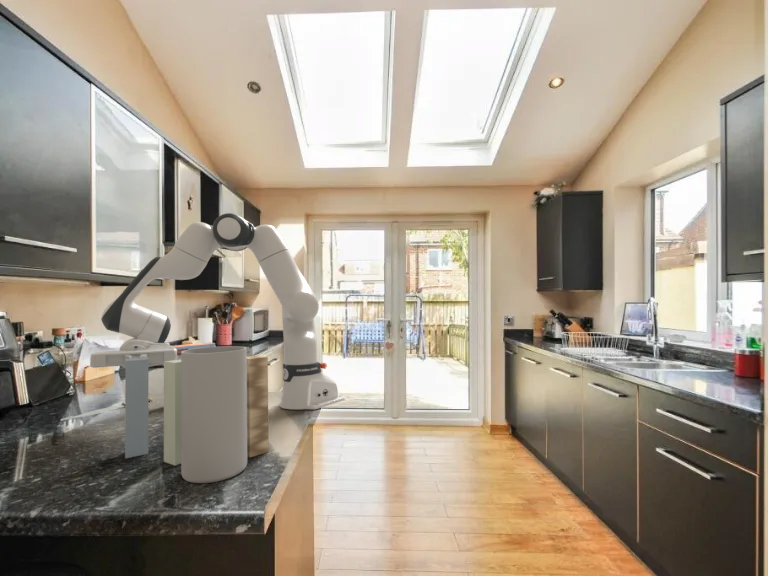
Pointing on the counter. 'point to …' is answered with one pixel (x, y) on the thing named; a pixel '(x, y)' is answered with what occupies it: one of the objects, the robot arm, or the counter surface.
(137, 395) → the post slate
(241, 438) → the cylinder vase
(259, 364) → the post oak
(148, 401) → the knife
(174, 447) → the post sage
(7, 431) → the counter surface
